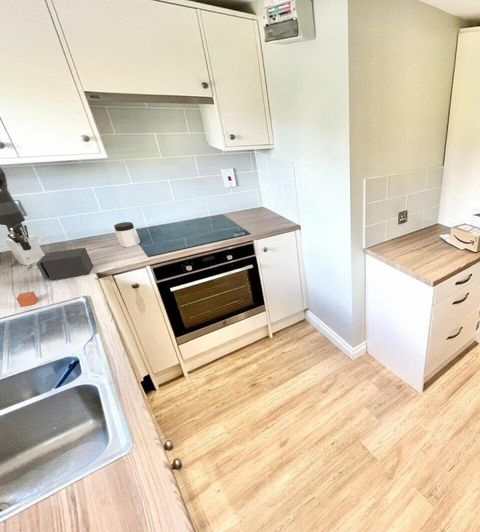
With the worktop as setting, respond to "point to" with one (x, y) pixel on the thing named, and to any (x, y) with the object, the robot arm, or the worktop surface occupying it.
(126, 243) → the jar
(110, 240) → the worktop surface
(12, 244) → the small box
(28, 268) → the drawer
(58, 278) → the cabinet
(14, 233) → the robot arm
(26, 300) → the block
